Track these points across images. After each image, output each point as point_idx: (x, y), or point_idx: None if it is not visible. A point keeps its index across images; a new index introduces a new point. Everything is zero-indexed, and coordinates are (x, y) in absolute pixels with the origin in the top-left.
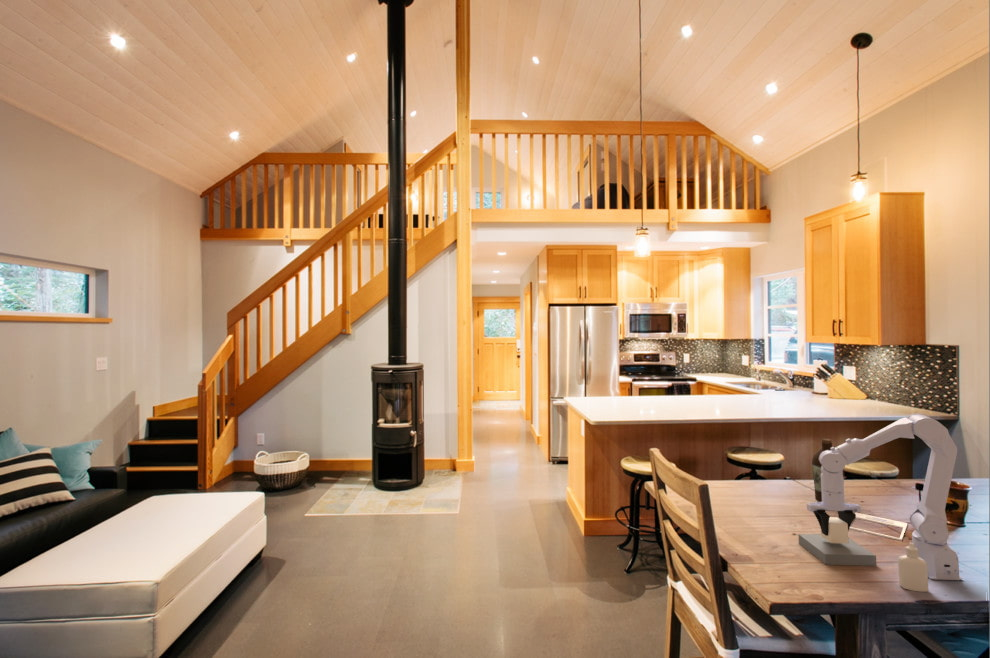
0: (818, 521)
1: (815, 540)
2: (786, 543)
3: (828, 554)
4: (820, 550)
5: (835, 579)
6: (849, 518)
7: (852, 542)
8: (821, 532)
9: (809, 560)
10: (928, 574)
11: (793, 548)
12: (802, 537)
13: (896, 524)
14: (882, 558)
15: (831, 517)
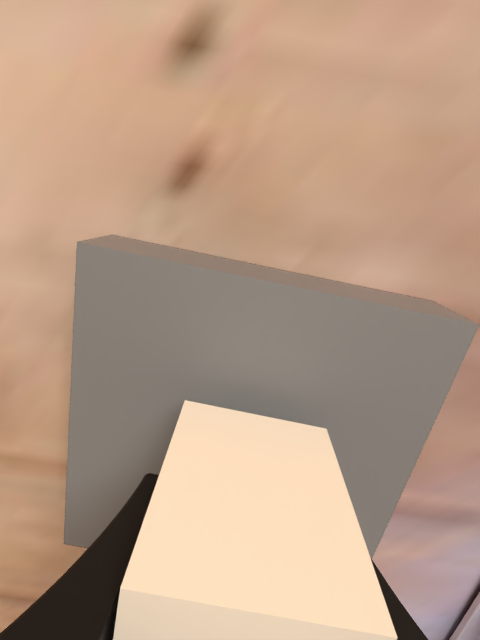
0: (69, 573)
1: (138, 381)
2: (17, 222)
3: (85, 545)
4: (67, 506)
5: (47, 588)
6: None
7: (394, 448)
8: (176, 428)
9: (35, 446)
10: (468, 638)
11: (25, 303)
12: (76, 305)
13: None
14: (456, 486)
15: (296, 627)
